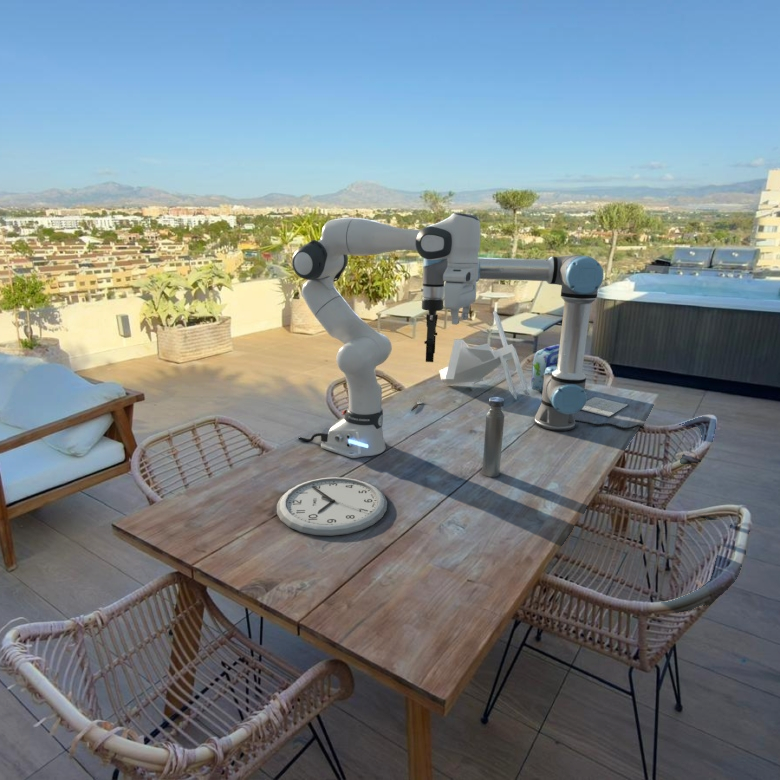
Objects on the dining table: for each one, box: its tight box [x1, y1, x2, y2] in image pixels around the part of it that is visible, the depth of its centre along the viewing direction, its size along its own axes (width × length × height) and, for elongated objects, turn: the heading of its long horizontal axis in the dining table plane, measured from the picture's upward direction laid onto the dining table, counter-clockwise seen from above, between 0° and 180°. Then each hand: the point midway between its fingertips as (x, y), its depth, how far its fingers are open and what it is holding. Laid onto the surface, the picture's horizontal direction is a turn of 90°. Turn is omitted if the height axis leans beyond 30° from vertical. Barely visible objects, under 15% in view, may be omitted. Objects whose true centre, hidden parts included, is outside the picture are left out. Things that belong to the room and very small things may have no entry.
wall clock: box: [276, 476, 388, 537], centre depth 142 cm, size 30×2×30 cm
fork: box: [410, 395, 425, 412], centre depth 222 cm, size 3×16×2 cm, turn 160°
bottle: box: [481, 406, 505, 478], centre depth 160 cm, size 5×5×24 cm
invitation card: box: [580, 396, 629, 418], centre depth 226 cm, size 21×1×15 cm
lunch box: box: [530, 344, 560, 393], centre depth 247 cm, size 26×11×21 cm, turn 134°
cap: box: [488, 396, 505, 408], centre depth 156 cm, size 4×4×2 cm
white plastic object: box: [438, 310, 531, 400], centre depth 245 cm, size 37×45×31 cm
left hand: (460, 321), depth 152 cm, fingers open, 8 cm apart
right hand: (430, 357), depth 190 cm, fingers open, 13 cm apart
